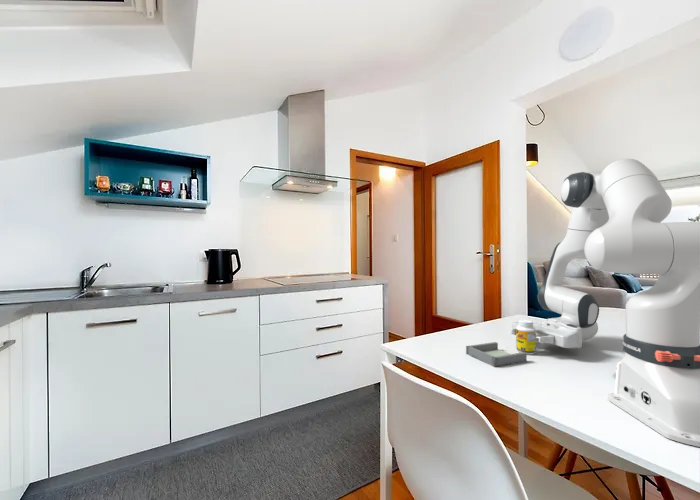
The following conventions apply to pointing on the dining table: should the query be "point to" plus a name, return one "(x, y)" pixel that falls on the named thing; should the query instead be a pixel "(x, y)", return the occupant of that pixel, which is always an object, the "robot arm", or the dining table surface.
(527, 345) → the supplement bottle
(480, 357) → the tray
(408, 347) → the dining table surface
